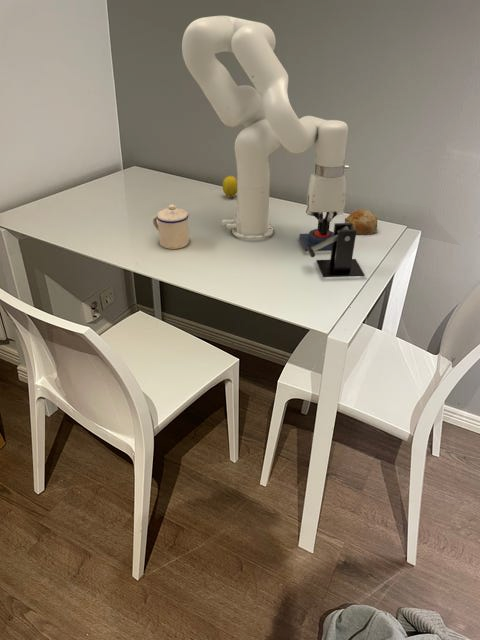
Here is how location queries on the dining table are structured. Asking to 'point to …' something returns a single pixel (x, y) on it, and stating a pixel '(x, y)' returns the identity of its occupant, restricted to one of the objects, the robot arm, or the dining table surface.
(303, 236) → the button housing
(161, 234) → the teacup with lid
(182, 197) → the dining table surface
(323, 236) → the button
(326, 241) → the lever
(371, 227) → the bread roll
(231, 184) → the lemon
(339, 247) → the lever bracket
